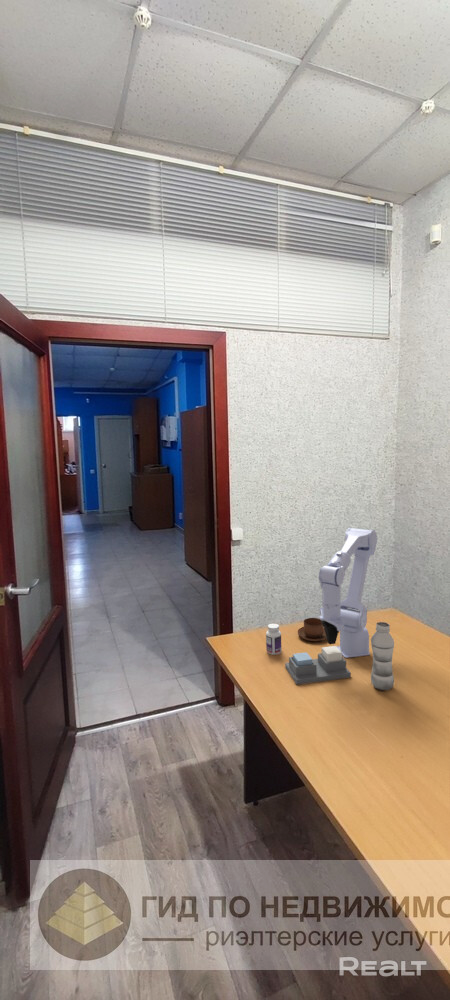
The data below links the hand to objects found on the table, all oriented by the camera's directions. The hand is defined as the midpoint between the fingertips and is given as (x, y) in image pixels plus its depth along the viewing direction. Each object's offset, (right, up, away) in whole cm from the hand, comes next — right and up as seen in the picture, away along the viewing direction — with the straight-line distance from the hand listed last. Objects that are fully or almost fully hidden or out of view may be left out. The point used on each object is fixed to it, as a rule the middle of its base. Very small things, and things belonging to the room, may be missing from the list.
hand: (331, 643), depth 144 cm
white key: (0, -5, +1) cm, 5 cm away
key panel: (-5, -10, 0) cm, 11 cm away
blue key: (-10, -7, -1) cm, 12 cm away
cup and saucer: (-1, -6, +26) cm, 27 cm away
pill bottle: (-17, -8, +15) cm, 24 cm away
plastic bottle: (+13, -11, -10) cm, 19 cm away
